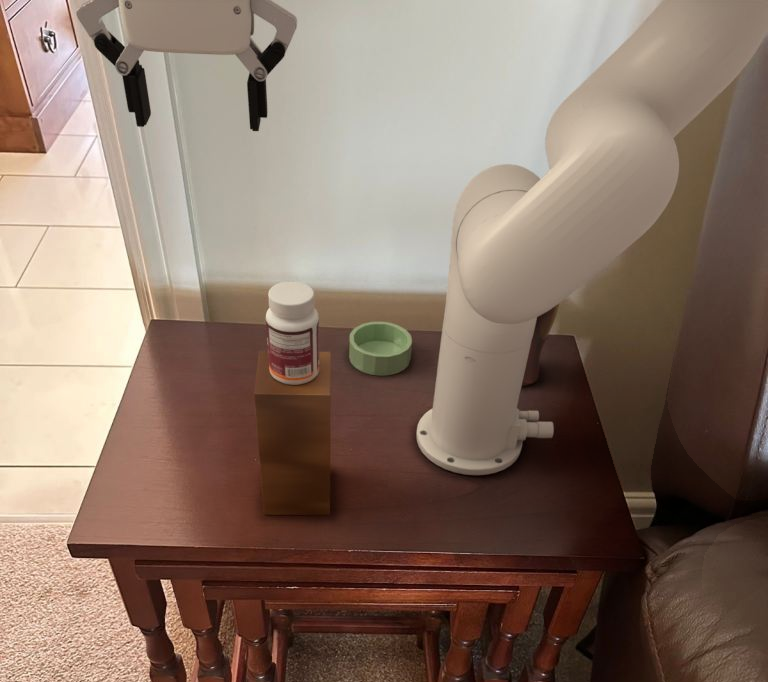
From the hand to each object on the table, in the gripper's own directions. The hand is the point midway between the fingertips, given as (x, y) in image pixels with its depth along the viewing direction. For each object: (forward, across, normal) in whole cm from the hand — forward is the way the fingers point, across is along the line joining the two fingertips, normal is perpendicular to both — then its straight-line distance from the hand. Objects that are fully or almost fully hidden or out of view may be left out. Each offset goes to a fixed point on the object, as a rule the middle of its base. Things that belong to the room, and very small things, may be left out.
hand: (200, 123), depth 68 cm
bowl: (+34, -18, -15) cm, 42 cm away
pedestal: (+34, -8, +11) cm, 37 cm away
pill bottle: (+18, -8, +11) cm, 23 cm away
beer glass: (+34, -36, -12) cm, 51 cm away
